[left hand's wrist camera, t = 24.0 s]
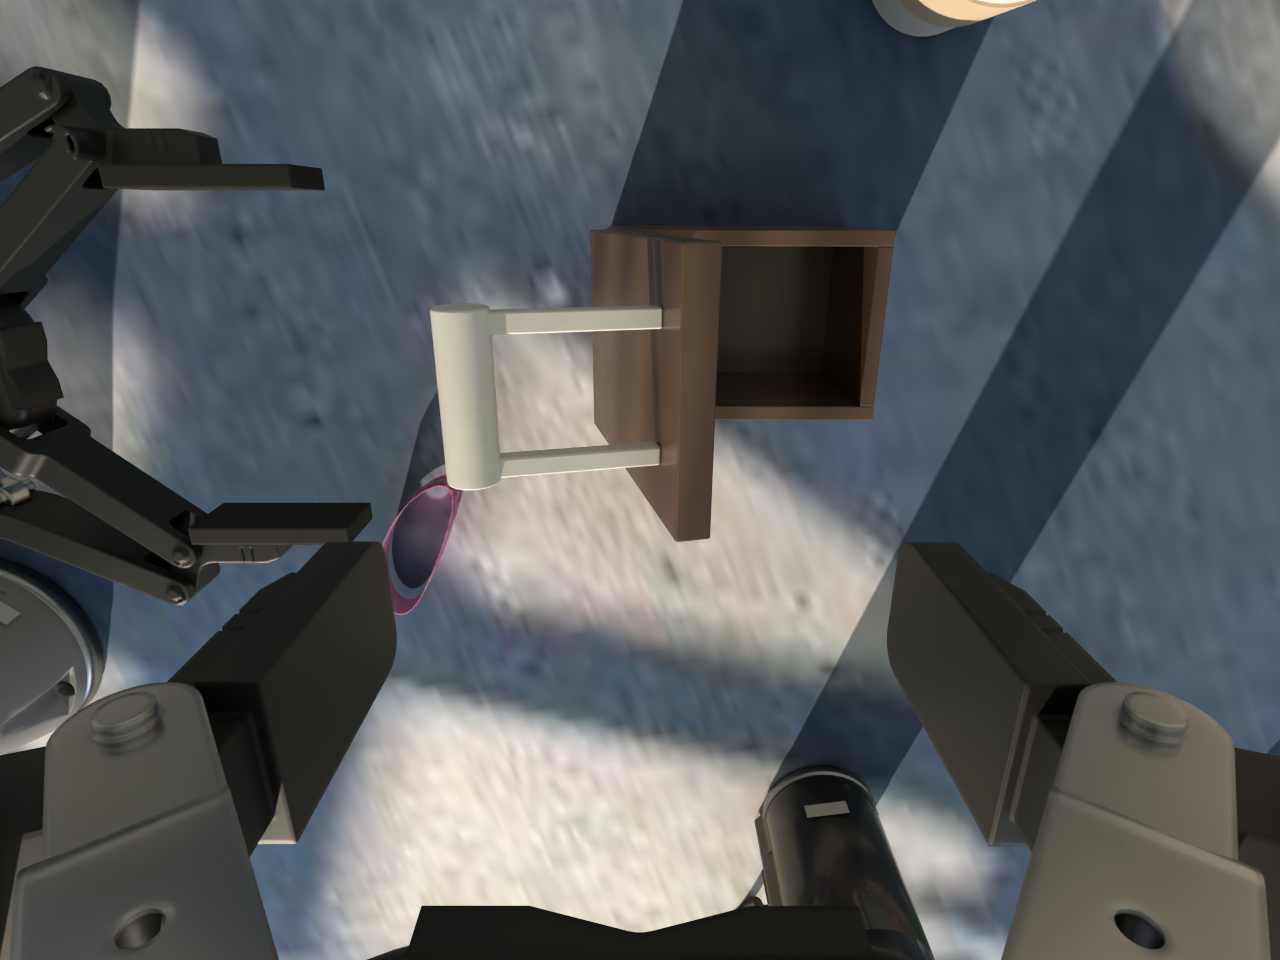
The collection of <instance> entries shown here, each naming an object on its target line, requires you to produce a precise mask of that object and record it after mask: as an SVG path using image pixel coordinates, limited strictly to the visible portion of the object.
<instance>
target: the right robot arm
mask: <svg viewBox="0 0 1280 960" xmlns="http://www.w3.org/2000/svg"><path fill="white" fill-rule="evenodd" d="M110 106H111V98H110V95H109V93H108V91H107V89H106V88H105V87H104V86H103V85H102V84H101V83H99V82H98V81H96V80H93V79H89V78H85V77H80V76H76V75H72V74H68V73H64V72H60V71H56V70H51V69H47V68H43V67H36V66H35V67H32V68H29V69H27V70H26V71H24V72H23V73H21V74H20V75H18V76H17V77H15V78H14V79H12V80H11V81H9V82H8V83H6V84H5V85H3V86H2V87H0V182H1V181H3V180H4V179H6V178H7V177H9V176H10V175H12V174H14V173H15V172H17V171H18V170H20V169H21V168H23V167H24V166H26V165H28V164H29V163H31V162H32V161H34V160H35V159H37V158H38V157H40V156H41V157H40V158H39V160H38V161H37V162H36V163H35V165H34V166H33V167H32V168H31V170H30V171H29V172H28V173H27V175H26V176H25V177H24V178H23V180H22V181H21V182H20V183H19V185H18V186H17V187H16V188H15V190H14V191H13V192H12V193H11V195H10V196H9V197H8V198H7V200H6V201H5V202H4V203H3V204H2V206H1V207H0V467H2V468H4V469H5V470H7V471H8V472H10V473H12V474H15V475H19V476H31V477H34V478H37V479H38V480H40V481H41V482H43V483H45V484H46V485H48V486H49V487H51V488H53V489H54V490H56V491H57V492H59V493H60V494H62V495H64V496H65V497H67V498H68V499H67V498H65V497H62V496H59V495H56V494H52V493H48V492H43V491H37V490H35V484H34V483H33V482H32V481H30V480H26V479H25V480H23V481H19V480H16V479H13V478H10V477H8V476H6V475H5V474H4V473H3V472H2V471H1V469H0V539H5V540H8V541H11V542H13V543H16V544H18V545H21V546H23V547H26V548H28V549H31V550H34V551H36V552H39V553H41V554H44V555H46V556H49V557H52V558H54V559H57V560H59V561H62V562H64V563H67V564H69V565H72V566H75V567H77V568H80V569H82V570H85V571H87V572H90V573H93V574H95V575H98V576H100V577H103V578H105V579H108V580H110V581H113V582H116V583H118V584H121V585H123V586H126V587H128V588H131V589H134V590H136V591H139V592H141V593H144V594H146V595H149V596H151V597H154V598H157V599H159V600H162V601H164V602H167V603H169V604H172V605H183V604H185V603H186V602H188V601H189V600H190V599H191V598H192V597H193V596H195V595H196V594H197V593H198V592H199V591H200V590H202V589H203V588H204V587H205V586H206V585H207V584H209V583H210V582H211V581H212V580H213V579H214V578H215V577H217V576H218V574H219V573H220V566H219V563H244V562H246V563H254V562H256V563H269V562H272V561H274V560H277V559H279V558H280V557H281V556H282V555H283V554H284V553H285V552H286V551H288V550H289V549H290V548H291V547H292V546H293V545H324V544H325V543H327V542H352V541H353V540H354V539H355V538H356V537H357V536H358V534H359V533H360V532H361V531H362V530H363V529H364V528H365V526H366V525H367V524H368V523H369V522H370V521H371V520H372V511H371V504H370V503H223V504H222V505H220V506H219V507H217V508H216V509H214V510H213V511H212V512H210V513H209V514H207V513H205V512H204V511H202V510H201V509H199V508H198V507H196V506H195V505H193V504H192V503H190V502H189V501H187V500H186V499H184V498H183V497H181V496H180V495H178V494H177V493H175V492H174V491H172V490H171V489H169V488H167V487H166V486H164V485H163V484H161V483H160V482H158V481H157V480H155V479H154V478H152V477H151V476H149V475H148V474H146V473H145V472H143V471H142V470H140V469H139V468H137V467H136V466H134V465H133V464H131V463H129V462H128V461H126V460H125V459H123V458H122V457H120V456H119V455H117V454H116V453H114V452H113V451H111V450H110V449H108V448H107V447H105V446H104V445H102V444H101V443H99V442H98V441H96V440H95V439H93V438H92V437H91V435H90V433H91V430H90V428H89V427H88V426H87V425H85V424H84V423H82V422H81V421H79V420H78V419H76V418H75V417H73V416H72V415H70V414H69V413H67V412H66V411H64V410H63V409H61V408H60V407H58V406H57V399H60V398H63V394H62V390H61V387H60V383H59V380H58V378H57V376H56V374H55V373H54V371H53V369H52V367H51V366H50V364H49V362H48V358H47V339H46V336H45V332H44V329H43V326H42V322H34V321H33V319H32V318H31V317H30V315H29V314H28V313H27V312H26V311H25V310H24V309H25V308H26V307H27V306H28V304H29V303H30V302H31V301H32V300H33V299H34V297H35V296H36V295H37V294H38V293H39V292H40V290H41V289H42V288H43V287H44V286H45V285H46V283H47V282H48V279H47V278H46V277H45V275H46V273H47V272H48V271H49V269H50V268H51V267H52V266H53V265H54V264H55V262H56V261H57V260H58V259H59V258H60V257H61V255H62V254H63V253H64V252H65V251H66V250H67V248H68V247H69V246H70V245H71V244H72V242H73V241H74V240H75V239H76V238H77V237H78V235H79V234H80V233H81V232H82V231H83V230H84V228H85V227H86V226H87V225H88V224H89V223H90V221H91V220H92V219H93V218H94V217H95V215H96V214H97V213H98V212H99V211H100V210H101V208H102V207H103V206H104V205H105V204H106V203H107V201H108V200H109V199H110V198H111V197H112V196H113V194H114V193H115V192H116V191H117V190H118V189H138V190H325V188H324V181H323V174H322V169H320V168H313V167H306V166H298V165H291V164H222V161H221V156H220V151H219V145H218V140H217V139H216V138H214V137H211V136H209V135H206V134H204V133H201V132H195V131H189V130H184V129H125V128H123V127H122V126H121V125H120V124H119V123H118V122H117V121H116V119H115V118H114V116H113V115H112V113H111V111H110ZM36 430H37V431H39V432H40V433H42V434H43V435H40V436H38V437H35V438H32V439H27V438H29V437H30V436H31V435H32V434H33V433H34V432H35V431H36ZM102 675H103V656H102V651H101V647H100V644H99V640H98V638H97V636H96V633H95V631H94V629H93V627H92V626H91V624H90V622H89V621H88V619H87V618H86V616H85V615H84V613H83V612H82V611H81V610H80V608H79V607H78V606H77V605H76V604H75V603H74V602H73V601H72V600H71V599H70V598H69V597H68V596H67V595H66V594H65V593H64V592H63V591H61V590H60V589H59V588H58V587H56V586H55V585H54V584H52V583H51V582H49V581H48V580H46V579H45V578H43V577H41V576H40V575H38V574H36V573H34V572H32V571H30V570H28V569H26V568H24V567H22V566H19V565H17V564H14V563H11V562H8V561H5V560H1V559H0V755H3V754H5V753H7V752H9V751H12V750H14V749H16V748H18V747H20V746H22V745H25V744H27V743H29V742H31V741H33V740H36V739H38V738H40V737H42V736H44V735H46V734H48V733H51V732H52V731H54V730H56V729H57V728H58V727H59V726H60V725H61V724H62V723H63V722H64V721H65V720H67V719H68V718H69V717H71V716H72V715H73V714H75V713H76V712H78V711H79V710H81V709H82V708H84V707H85V706H86V705H87V704H88V703H89V702H90V701H91V700H92V699H93V697H94V696H95V694H96V693H97V690H98V688H99V686H100V683H101V680H102Z"/></svg>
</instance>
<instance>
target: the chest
mask: <svg viewBox="0 0 1280 960" xmlns="http://www.w3.org/2000/svg"><path fill="white" fill-rule="evenodd" d="M604 230H623V231H632V232H641V233H650V234H659V235H668V236H677V237H686V238H695V239H704V240H713V241H720V242H722V262H721V285H720V309H719V333H718V357H717V380H716V404H715V420H872V417H873V408H874V407H873V406H874V400H875V392H876V383H877V375H878V367H879V359H880V351H881V343H882V335H883V327H884V319H885V310H886V302H887V294H888V286H889V278H890V270H891V262H892V254H893V246H894V238H895V230H884V229H870V228H856V227H845V226H610V227H609V228H606V229H604Z"/></svg>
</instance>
